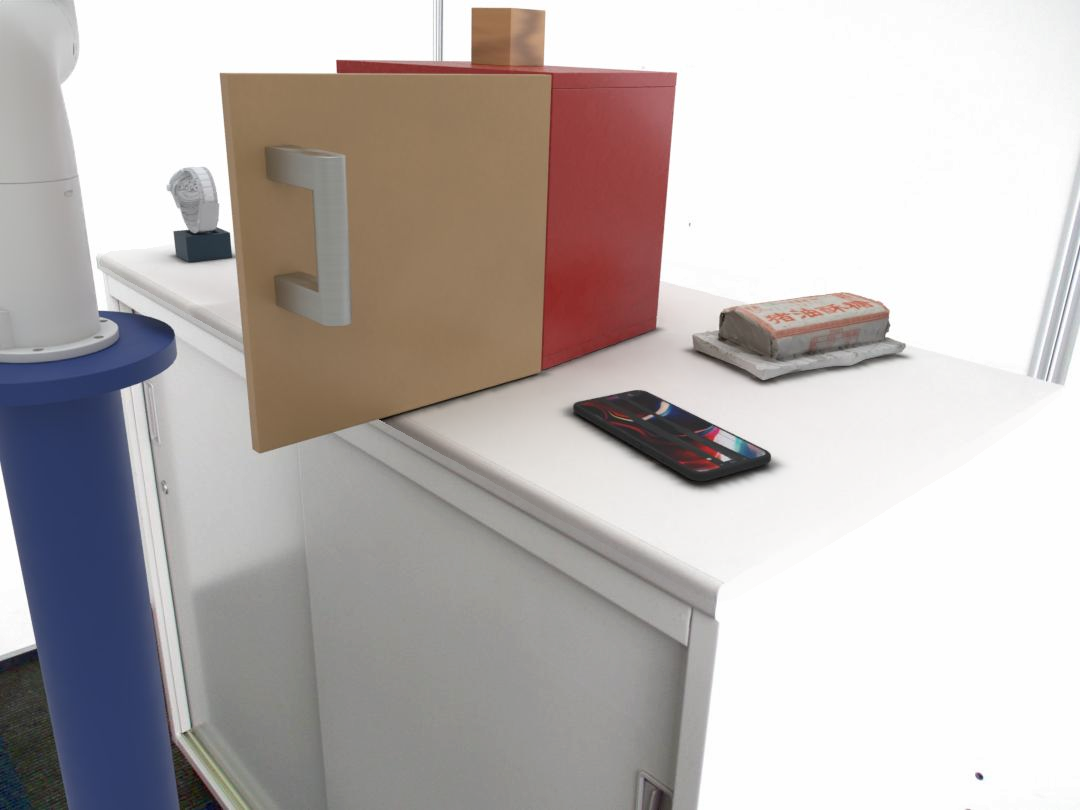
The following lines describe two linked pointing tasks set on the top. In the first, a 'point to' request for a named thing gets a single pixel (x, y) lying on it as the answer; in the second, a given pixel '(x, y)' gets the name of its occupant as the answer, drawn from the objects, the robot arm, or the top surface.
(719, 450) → the smartphone
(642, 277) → the cabinet
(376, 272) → the cabinet door
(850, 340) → the packaged product
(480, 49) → the oak block
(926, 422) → the top surface
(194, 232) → the watch
